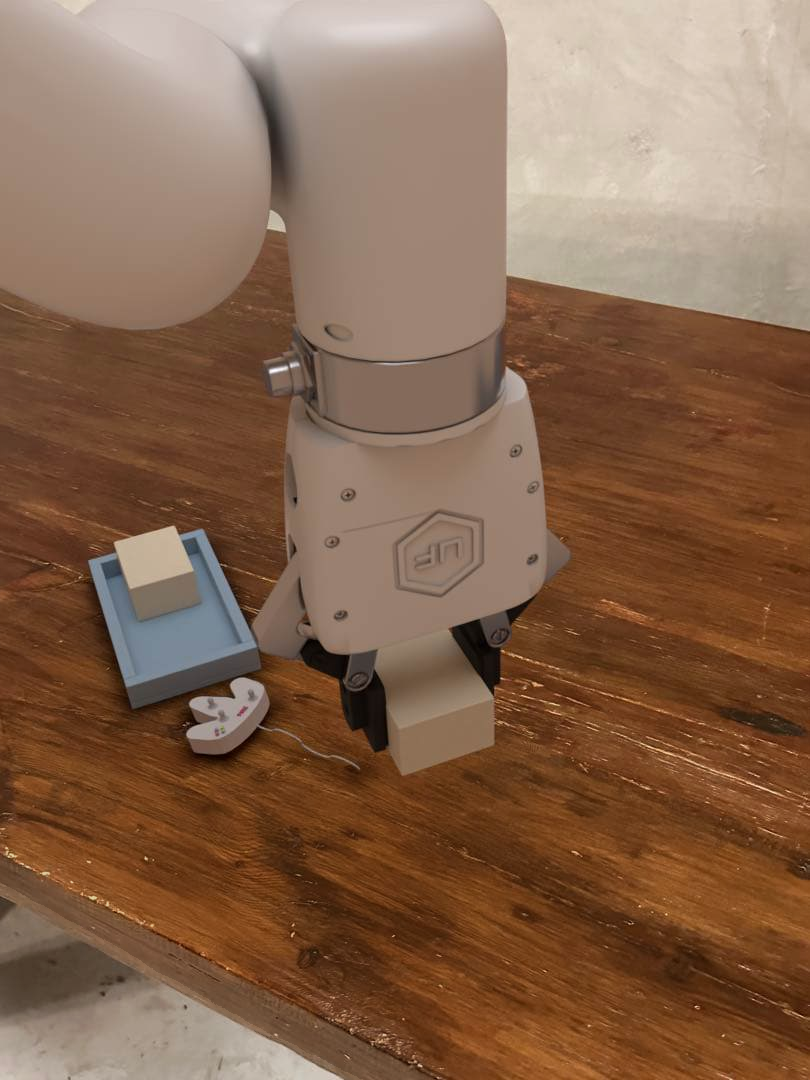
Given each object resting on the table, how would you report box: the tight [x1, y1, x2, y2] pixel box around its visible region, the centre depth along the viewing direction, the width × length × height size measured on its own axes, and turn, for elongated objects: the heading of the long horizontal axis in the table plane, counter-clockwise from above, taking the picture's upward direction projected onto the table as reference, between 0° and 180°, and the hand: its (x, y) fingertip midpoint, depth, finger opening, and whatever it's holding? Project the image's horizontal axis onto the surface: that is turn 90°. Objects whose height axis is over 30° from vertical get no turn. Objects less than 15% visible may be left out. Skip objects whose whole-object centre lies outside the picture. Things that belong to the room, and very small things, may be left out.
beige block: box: [113, 525, 201, 622], centre depth 80 cm, size 6×4×3 cm
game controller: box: [186, 677, 361, 773], centre depth 69 cm, size 6×12×3 cm, turn 80°
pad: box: [374, 628, 495, 777], centre depth 51 cm, size 6×4×3 cm
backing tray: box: [87, 528, 262, 710], centre depth 78 cm, size 15×9×2 cm, turn 22°
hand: (422, 710), depth 52 cm, fingers closed on pad, 4 cm apart
